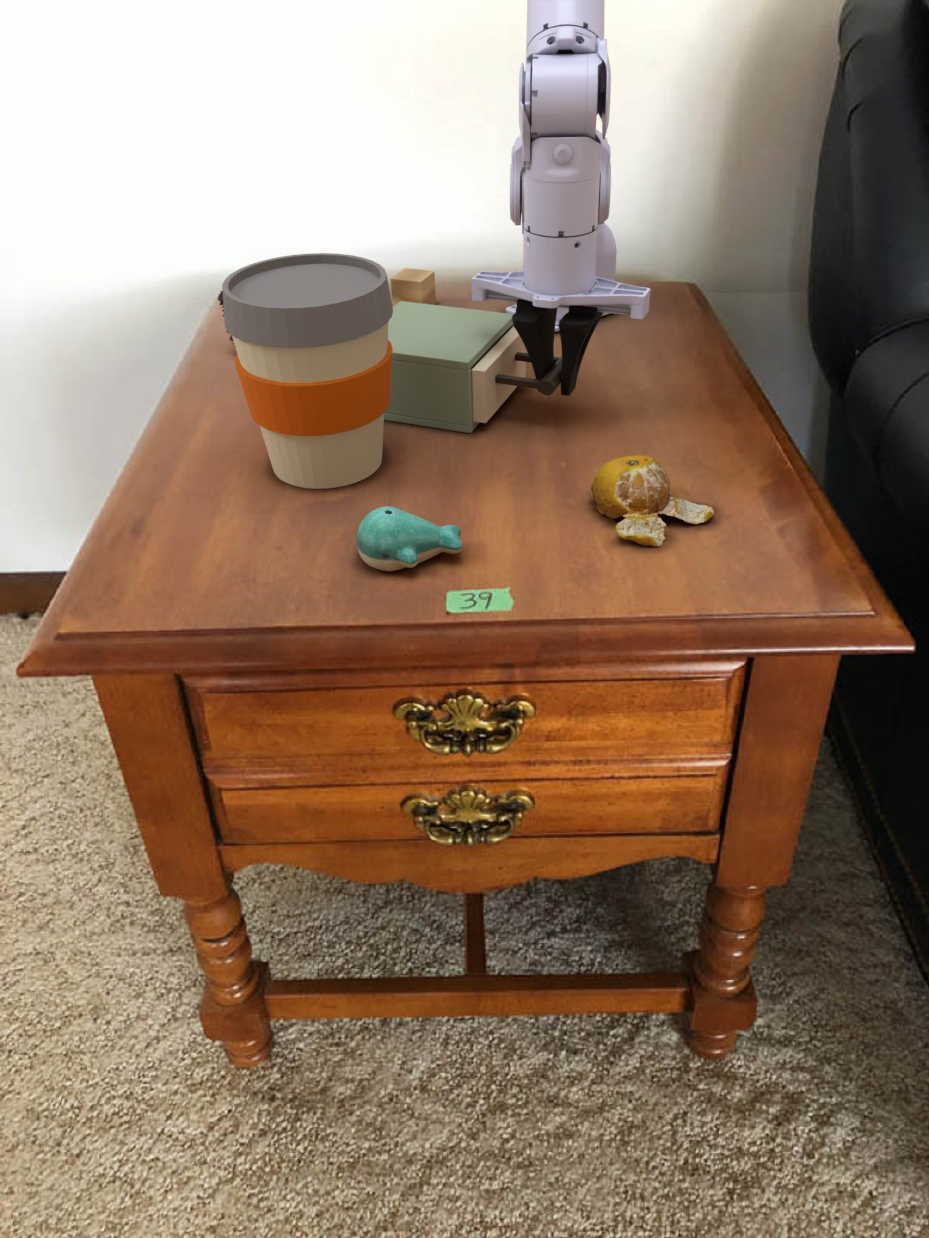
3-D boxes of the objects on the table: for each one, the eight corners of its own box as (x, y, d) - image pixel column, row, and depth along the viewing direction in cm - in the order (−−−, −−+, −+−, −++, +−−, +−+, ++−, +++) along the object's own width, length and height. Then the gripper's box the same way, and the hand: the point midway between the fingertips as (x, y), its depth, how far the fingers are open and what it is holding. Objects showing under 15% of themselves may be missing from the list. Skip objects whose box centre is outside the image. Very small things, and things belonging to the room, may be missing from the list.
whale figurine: (360, 537, 75) (355, 491, 73) (461, 532, 75) (459, 486, 73) (357, 582, 70) (352, 535, 68) (465, 577, 70) (463, 529, 68)
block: (436, 304, 113) (434, 271, 111) (422, 315, 110) (421, 282, 108) (406, 300, 114) (404, 268, 112) (392, 311, 111) (390, 278, 109)
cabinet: (515, 381, 96) (515, 314, 92) (470, 433, 88) (468, 362, 84) (405, 365, 100) (400, 300, 96) (351, 415, 91) (343, 346, 87)
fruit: (637, 555, 72) (641, 510, 70) (561, 507, 77) (563, 463, 75) (721, 517, 76) (728, 473, 73) (643, 474, 81) (647, 431, 79)
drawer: (581, 384, 93) (583, 333, 90) (545, 432, 85) (546, 379, 83) (422, 362, 98) (419, 314, 95) (375, 406, 90) (371, 356, 88)
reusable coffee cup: (256, 432, 89) (226, 257, 80) (401, 422, 90) (387, 247, 81) (244, 506, 79) (209, 315, 70) (407, 494, 80) (393, 303, 71)
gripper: (455, 234, 80) (461, 397, 88) (638, 250, 75) (627, 421, 83) (488, 209, 85) (490, 365, 93) (661, 223, 80) (648, 386, 88)
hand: (556, 389), depth 88 cm, fingers closed
